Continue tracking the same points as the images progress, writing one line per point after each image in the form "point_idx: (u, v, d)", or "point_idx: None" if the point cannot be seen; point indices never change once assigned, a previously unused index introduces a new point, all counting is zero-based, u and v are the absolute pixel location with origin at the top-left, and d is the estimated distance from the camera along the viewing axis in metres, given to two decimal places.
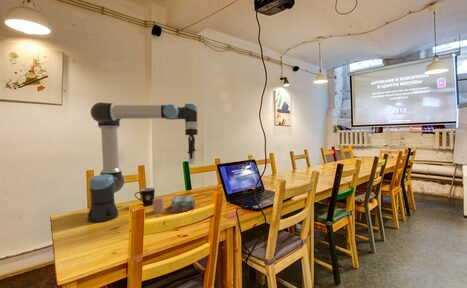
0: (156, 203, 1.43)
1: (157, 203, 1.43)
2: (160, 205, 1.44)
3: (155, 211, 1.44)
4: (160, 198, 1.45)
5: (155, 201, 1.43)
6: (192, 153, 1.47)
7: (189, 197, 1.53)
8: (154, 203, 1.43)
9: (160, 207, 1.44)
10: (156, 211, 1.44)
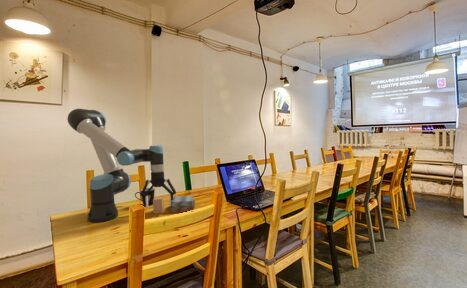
0: (156, 203, 1.43)
1: (157, 203, 1.43)
2: (160, 205, 1.44)
3: (155, 211, 1.44)
4: (160, 198, 1.45)
5: (155, 201, 1.43)
6: (145, 197, 1.44)
7: (189, 197, 1.53)
8: (154, 203, 1.43)
9: (160, 207, 1.44)
10: (156, 211, 1.44)
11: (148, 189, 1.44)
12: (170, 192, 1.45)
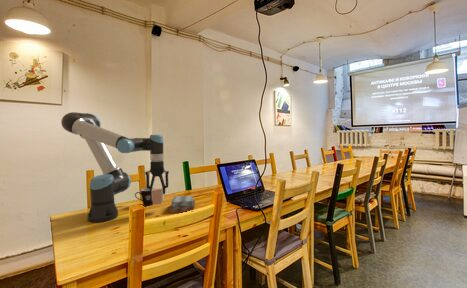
0: (155, 194, 1.43)
1: (156, 194, 1.43)
2: (159, 196, 1.43)
3: (155, 203, 1.43)
4: (159, 189, 1.45)
5: (154, 192, 1.43)
6: (151, 189, 1.44)
7: (189, 197, 1.53)
8: (153, 194, 1.43)
9: (159, 198, 1.43)
10: (155, 202, 1.43)
11: (151, 180, 1.44)
12: (163, 185, 1.45)
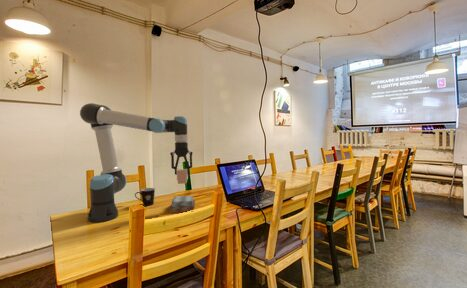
0: (180, 174, 1.48)
1: (181, 174, 1.48)
2: (184, 176, 1.48)
3: (180, 182, 1.48)
4: (184, 169, 1.50)
5: (179, 172, 1.48)
6: (176, 169, 1.49)
7: (189, 197, 1.53)
8: (178, 174, 1.48)
9: (184, 178, 1.48)
10: (180, 182, 1.48)
11: (176, 161, 1.48)
12: (187, 165, 1.49)
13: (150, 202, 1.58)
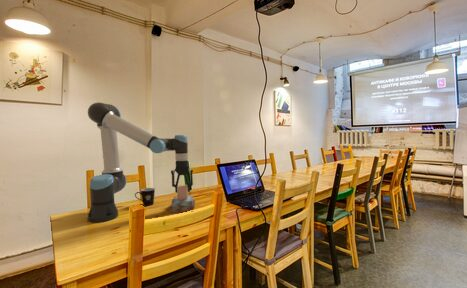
0: (181, 190, 1.48)
1: (182, 190, 1.48)
2: (185, 192, 1.49)
3: (180, 198, 1.49)
4: (184, 186, 1.51)
5: (180, 188, 1.48)
6: (177, 187, 1.50)
7: (189, 197, 1.53)
8: (179, 190, 1.48)
9: (185, 194, 1.49)
10: (181, 198, 1.49)
11: None
12: (188, 184, 1.50)
13: (150, 202, 1.58)
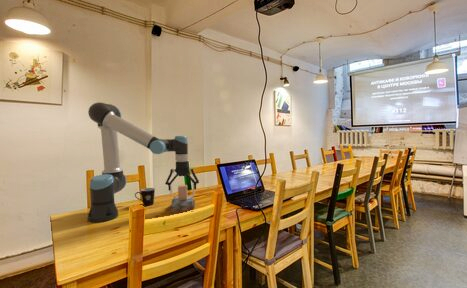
0: (181, 190, 1.48)
1: (182, 190, 1.48)
2: (185, 192, 1.49)
3: (180, 198, 1.49)
4: (184, 186, 1.51)
5: (180, 188, 1.48)
6: (170, 185, 1.49)
7: (189, 197, 1.53)
8: (179, 190, 1.48)
9: (185, 194, 1.49)
10: (181, 198, 1.49)
11: (173, 178, 1.49)
12: (193, 181, 1.50)
13: (150, 202, 1.58)
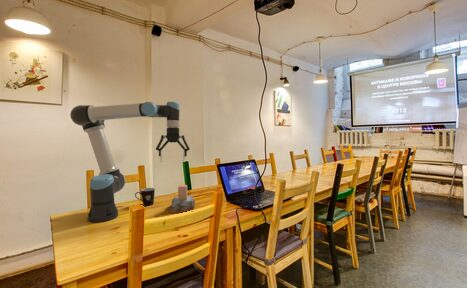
0: (181, 190, 1.48)
1: (182, 190, 1.48)
2: (185, 192, 1.49)
3: (180, 198, 1.49)
4: (184, 186, 1.51)
5: (180, 188, 1.48)
6: (160, 151, 1.49)
7: (189, 197, 1.53)
8: (179, 190, 1.48)
9: (185, 194, 1.49)
10: (181, 198, 1.49)
11: (163, 144, 1.49)
12: (184, 148, 1.50)
13: (150, 202, 1.58)
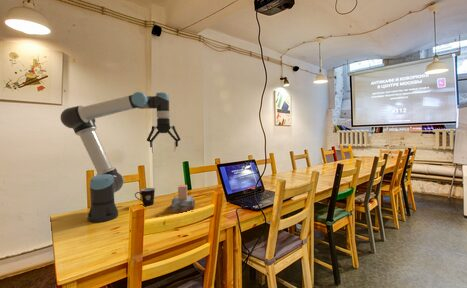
0: (181, 190, 1.48)
1: (182, 190, 1.48)
2: (185, 192, 1.49)
3: (180, 198, 1.49)
4: (184, 186, 1.51)
5: (180, 188, 1.48)
6: (151, 142, 1.51)
7: (189, 197, 1.53)
8: (179, 190, 1.48)
9: (185, 194, 1.49)
10: (181, 198, 1.49)
11: None
12: (175, 138, 1.52)
13: (150, 202, 1.58)
